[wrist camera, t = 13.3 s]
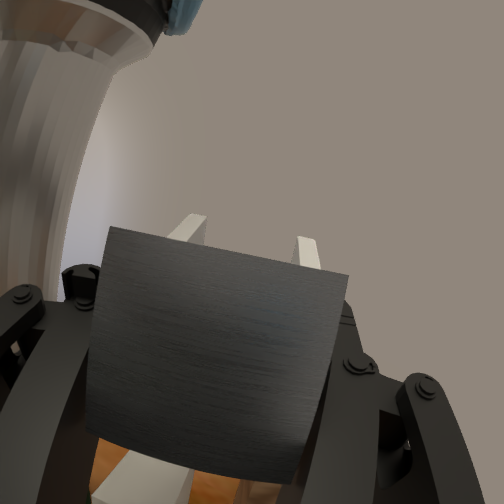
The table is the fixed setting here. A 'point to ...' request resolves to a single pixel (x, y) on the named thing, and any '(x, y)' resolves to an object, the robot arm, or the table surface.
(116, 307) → the grey square bar
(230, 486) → the table surface
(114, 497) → the cream rectangular box
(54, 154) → the robot arm
